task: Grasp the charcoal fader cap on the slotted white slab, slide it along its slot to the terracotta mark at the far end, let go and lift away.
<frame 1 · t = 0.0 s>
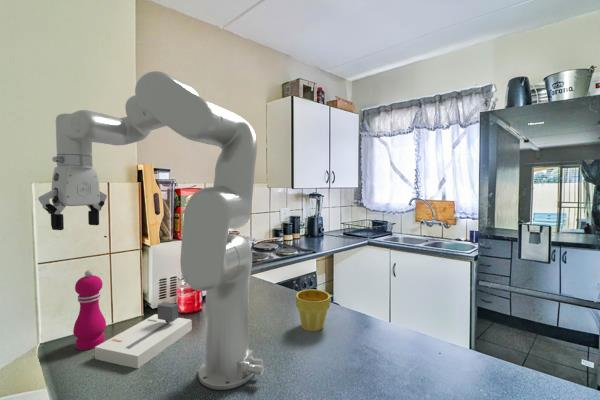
hand: (76, 227, 81), 31 cm above the worktop, tool pointing down, fingers open, 9 cm apart
slotted white slab: (148, 343, 82), on the worktop
pepper mill: (90, 344, 81), on the worktop
plant pot: (312, 327, 93), on the worktop
fader cap: (168, 313, 87), point 6 cm above the worktop, slide at -6.0 cm
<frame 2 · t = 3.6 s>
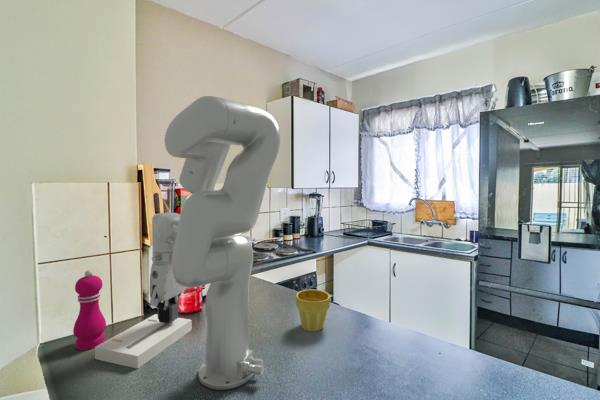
hand: (168, 319, 87), 4 cm above the worktop, tool pointing down, fingers closed on fader cap, 2 cm apart
fader cap: (168, 313, 87), point 6 cm above the worktop, slide at -6.0 cm, touching gripper
everything else where it was.
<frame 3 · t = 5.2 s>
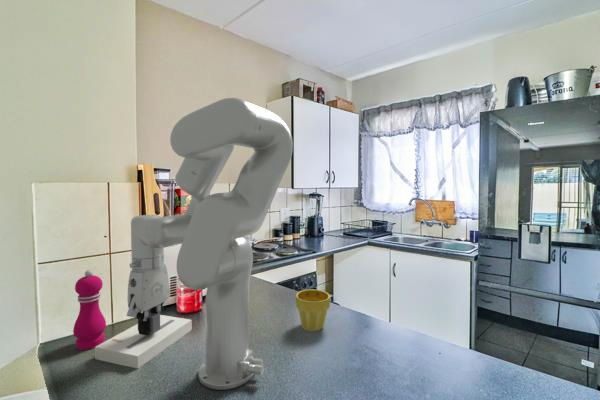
hand: (149, 330, 80), 4 cm above the worktop, tool pointing down, fingers closed on fader cap, 2 cm apart
fader cap: (148, 324, 80), point 6 cm above the worktop, slide at 1.2 cm, touching gripper
everything else where it was.
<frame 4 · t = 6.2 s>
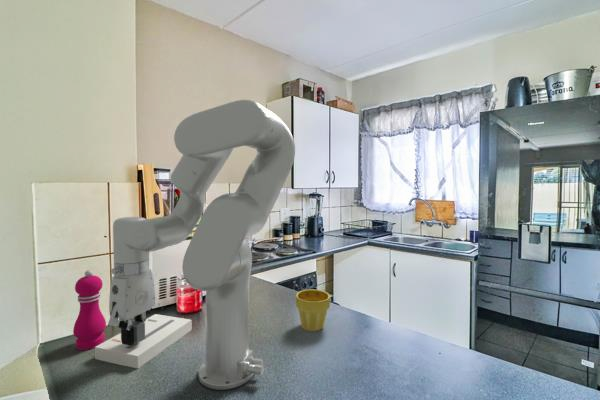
hand: (133, 340, 75), 4 cm above the worktop, tool pointing down, fingers closed on fader cap, 2 cm apart
fader cap: (133, 333, 75), point 6 cm above the worktop, slide at 6.4 cm, touching gripper
everything else where it was.
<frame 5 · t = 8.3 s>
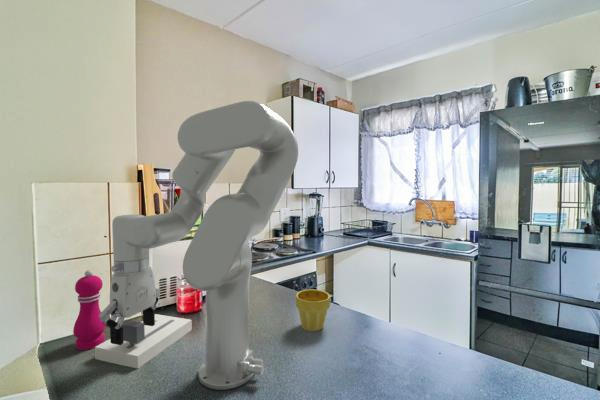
hand: (134, 333, 75), 6 cm above the worktop, tool pointing down, fingers open, 9 cm apart
fader cap: (132, 333, 75), point 6 cm above the worktop, slide at 6.5 cm
everything else where it was.
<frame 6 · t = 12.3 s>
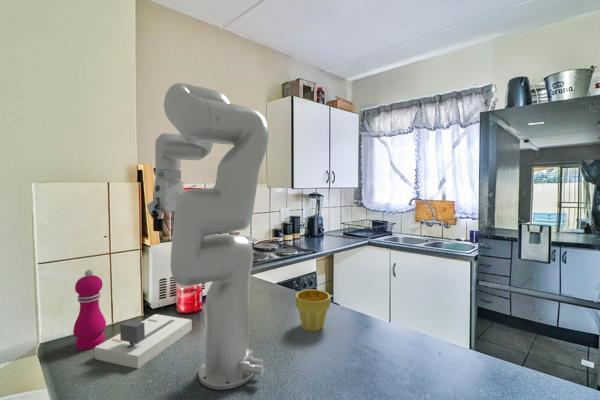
hand: (169, 229, 99), 28 cm above the worktop, tool pointing down, fingers open, 9 cm apart
nothing on the worktop moved.
at the end: fader cap slide at 6.5 cm; the gripper is holding nothing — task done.
